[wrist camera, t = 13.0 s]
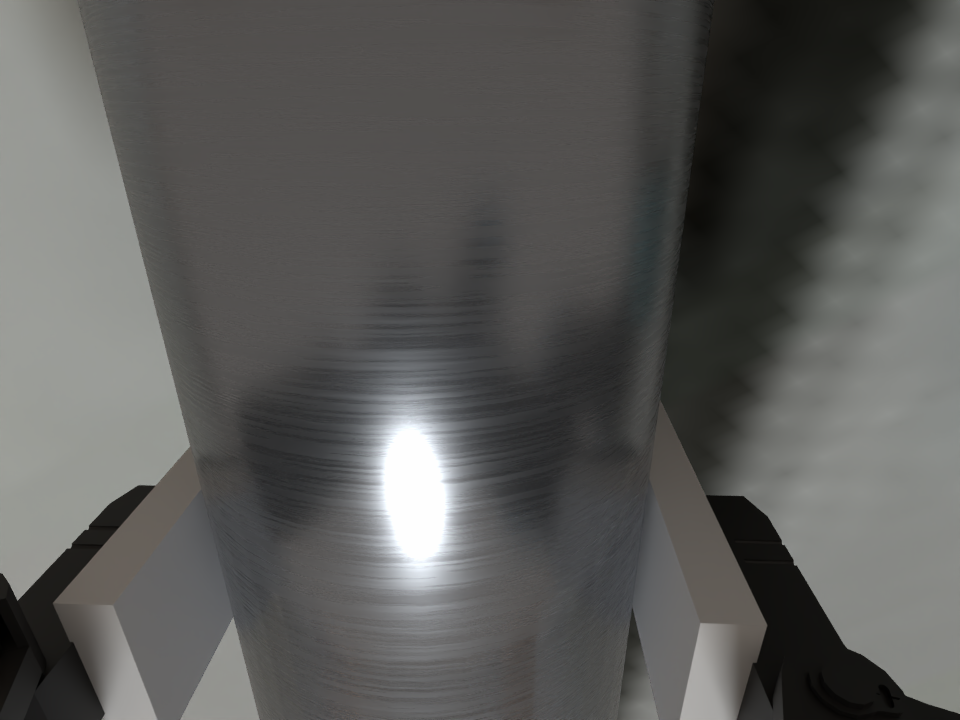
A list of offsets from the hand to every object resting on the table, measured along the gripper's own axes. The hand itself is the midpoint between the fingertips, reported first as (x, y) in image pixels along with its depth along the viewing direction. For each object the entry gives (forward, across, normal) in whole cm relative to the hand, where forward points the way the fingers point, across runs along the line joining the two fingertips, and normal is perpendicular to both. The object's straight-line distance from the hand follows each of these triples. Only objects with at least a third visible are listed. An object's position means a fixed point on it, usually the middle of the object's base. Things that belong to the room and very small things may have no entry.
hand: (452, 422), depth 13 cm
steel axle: (0, 0, -4) cm, 4 cm away
